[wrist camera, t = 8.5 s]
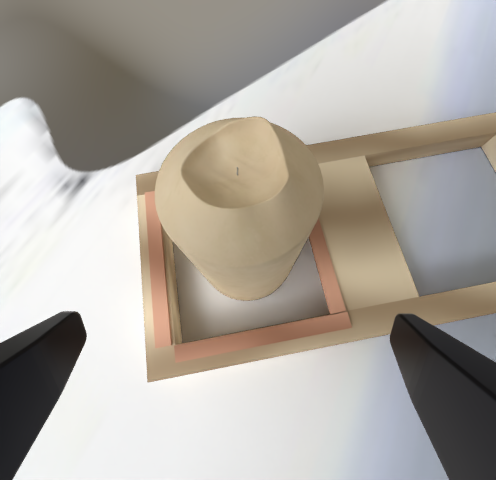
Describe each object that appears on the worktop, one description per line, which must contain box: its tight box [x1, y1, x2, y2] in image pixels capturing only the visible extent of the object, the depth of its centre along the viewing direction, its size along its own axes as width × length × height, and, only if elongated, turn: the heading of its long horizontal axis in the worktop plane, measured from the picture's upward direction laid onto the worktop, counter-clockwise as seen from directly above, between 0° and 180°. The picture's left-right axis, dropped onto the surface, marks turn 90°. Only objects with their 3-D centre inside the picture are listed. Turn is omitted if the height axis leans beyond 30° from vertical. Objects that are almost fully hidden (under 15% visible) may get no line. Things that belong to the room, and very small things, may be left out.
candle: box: [155, 117, 324, 301], centre depth 12 cm, size 6×6×10 cm
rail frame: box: [136, 112, 496, 382], centre depth 16 cm, size 12×25×2 cm, turn 101°
